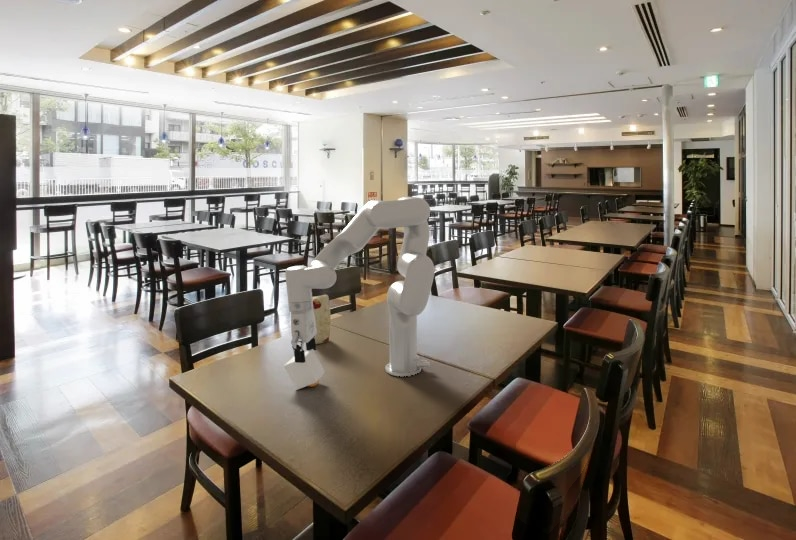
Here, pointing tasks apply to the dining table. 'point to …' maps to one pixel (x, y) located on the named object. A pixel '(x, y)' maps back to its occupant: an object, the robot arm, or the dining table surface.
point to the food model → (322, 318)
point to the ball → (314, 384)
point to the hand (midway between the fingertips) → (305, 356)
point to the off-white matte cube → (304, 370)
